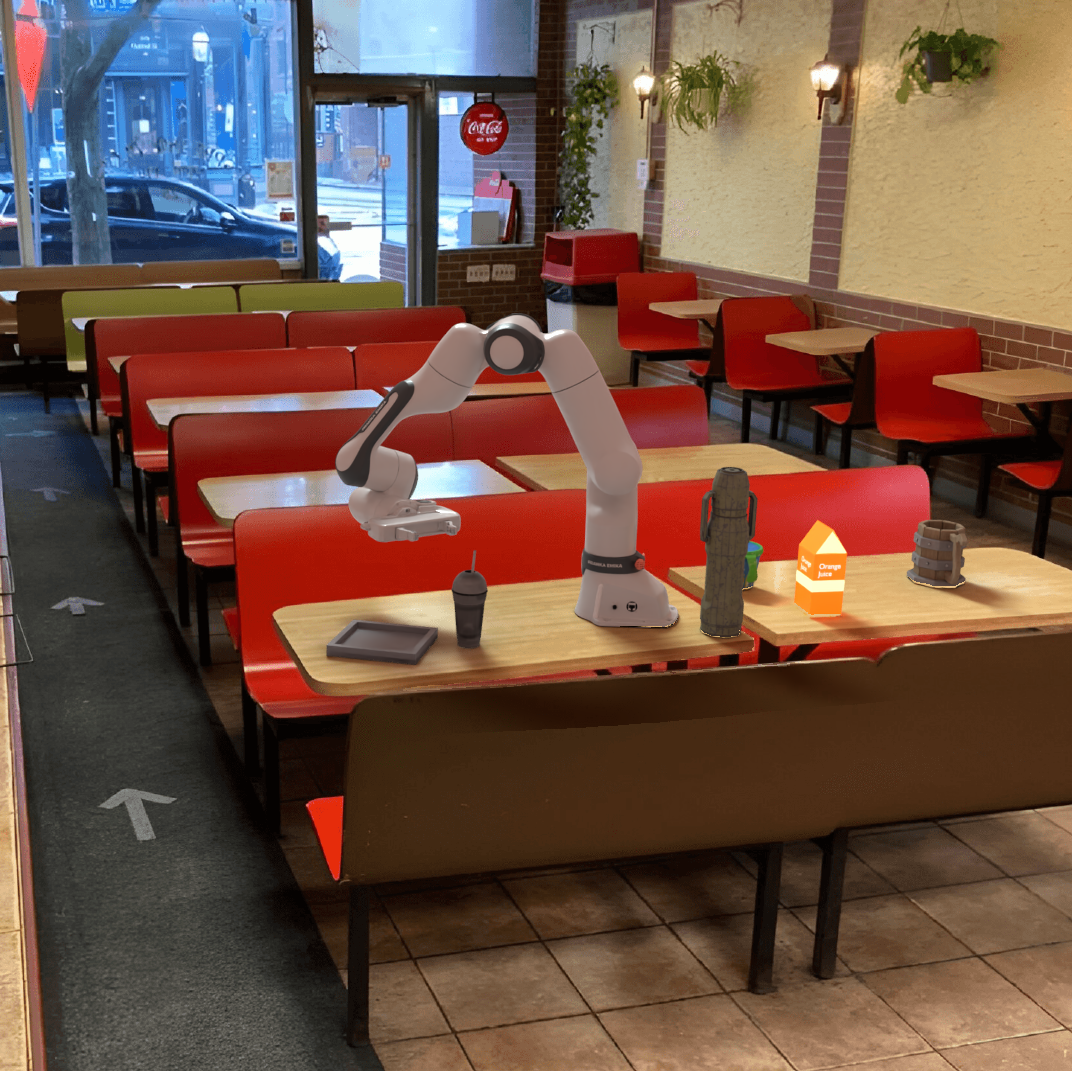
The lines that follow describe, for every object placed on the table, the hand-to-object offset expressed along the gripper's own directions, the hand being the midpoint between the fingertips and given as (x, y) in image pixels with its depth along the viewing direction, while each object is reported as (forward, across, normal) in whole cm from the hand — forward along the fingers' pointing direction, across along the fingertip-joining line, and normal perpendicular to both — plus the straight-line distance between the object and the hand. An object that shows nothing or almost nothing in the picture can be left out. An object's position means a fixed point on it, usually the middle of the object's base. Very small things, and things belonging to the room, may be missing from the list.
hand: (435, 534), depth 272 cm
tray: (+4, -14, +20) cm, 25 cm away
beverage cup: (+12, 0, +20) cm, 24 cm away
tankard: (+40, +119, +18) cm, 127 cm away
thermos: (+35, +50, +19) cm, 64 cm away
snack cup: (+14, +76, +19) cm, 80 cm away
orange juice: (+37, +78, +19) cm, 88 cm away
